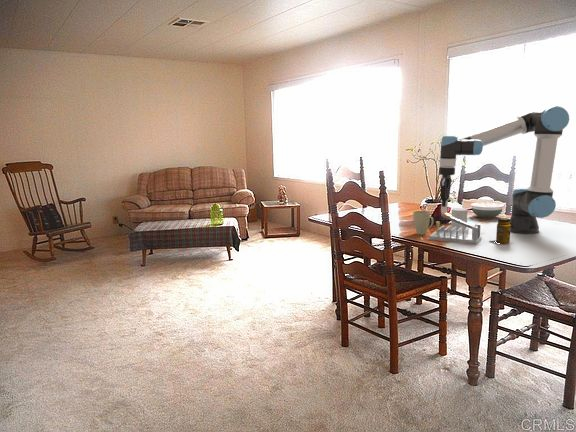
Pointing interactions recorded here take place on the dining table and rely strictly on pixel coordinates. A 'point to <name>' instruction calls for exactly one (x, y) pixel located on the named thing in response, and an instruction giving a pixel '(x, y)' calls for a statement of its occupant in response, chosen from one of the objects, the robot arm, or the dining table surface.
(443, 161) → the robot arm
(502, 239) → the condiment
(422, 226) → the mug
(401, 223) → the dining table surface
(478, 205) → the bowl
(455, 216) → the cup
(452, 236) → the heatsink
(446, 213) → the grey bar
